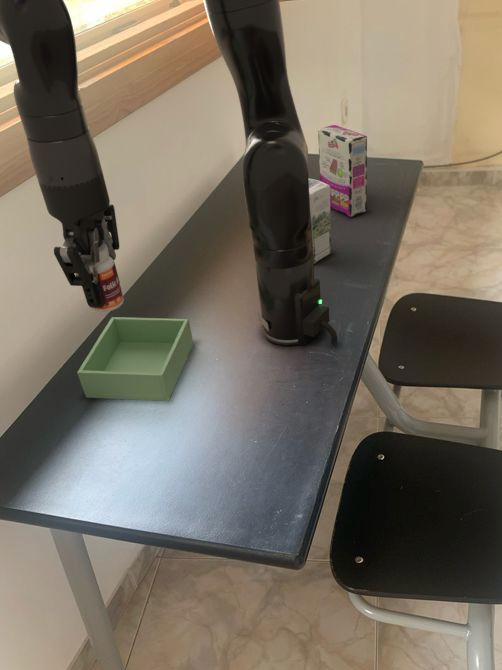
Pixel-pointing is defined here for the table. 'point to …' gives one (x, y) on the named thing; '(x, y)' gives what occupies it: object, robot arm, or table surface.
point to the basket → (137, 359)
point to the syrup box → (320, 219)
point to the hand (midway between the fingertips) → (104, 295)
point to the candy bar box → (344, 168)
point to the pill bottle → (107, 281)
